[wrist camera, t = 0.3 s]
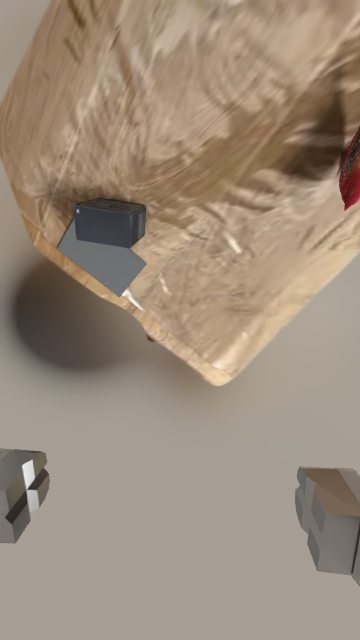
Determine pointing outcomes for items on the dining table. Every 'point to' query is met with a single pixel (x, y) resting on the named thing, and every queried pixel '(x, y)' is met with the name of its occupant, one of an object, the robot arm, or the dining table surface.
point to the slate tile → (103, 261)
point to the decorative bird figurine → (351, 173)
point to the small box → (109, 222)
